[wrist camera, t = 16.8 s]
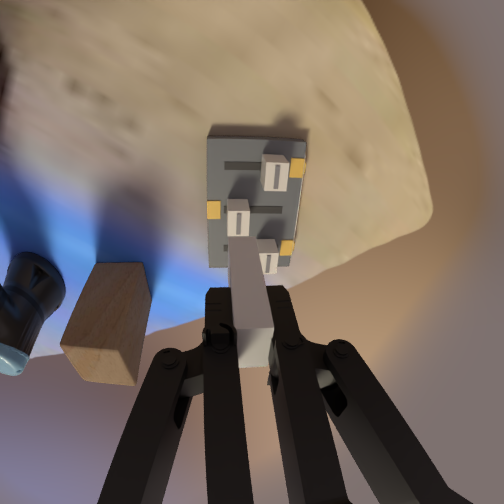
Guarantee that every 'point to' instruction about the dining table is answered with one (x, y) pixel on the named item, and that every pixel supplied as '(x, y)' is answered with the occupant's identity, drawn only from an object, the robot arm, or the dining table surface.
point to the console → (252, 192)
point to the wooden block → (109, 324)
